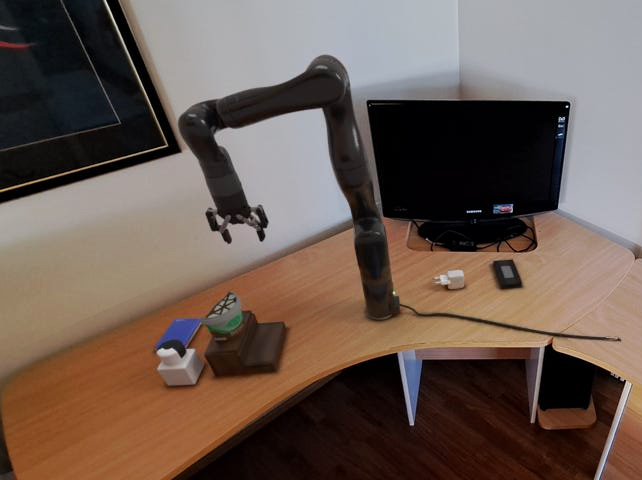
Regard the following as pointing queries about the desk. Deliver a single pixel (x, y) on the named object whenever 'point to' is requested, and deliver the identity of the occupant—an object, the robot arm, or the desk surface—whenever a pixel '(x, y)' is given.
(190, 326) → the hard drive
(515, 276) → the vhs tape
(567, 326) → the desk surface
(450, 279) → the power adapter
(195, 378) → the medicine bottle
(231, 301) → the food container
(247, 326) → the desk shelf
